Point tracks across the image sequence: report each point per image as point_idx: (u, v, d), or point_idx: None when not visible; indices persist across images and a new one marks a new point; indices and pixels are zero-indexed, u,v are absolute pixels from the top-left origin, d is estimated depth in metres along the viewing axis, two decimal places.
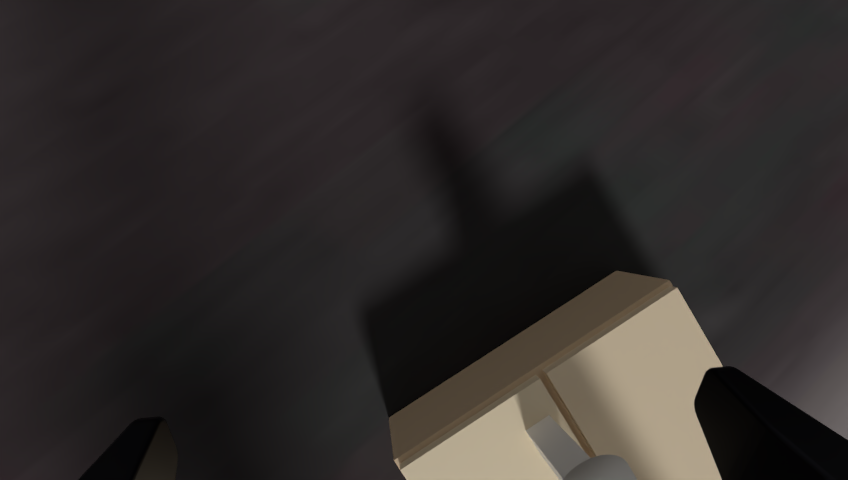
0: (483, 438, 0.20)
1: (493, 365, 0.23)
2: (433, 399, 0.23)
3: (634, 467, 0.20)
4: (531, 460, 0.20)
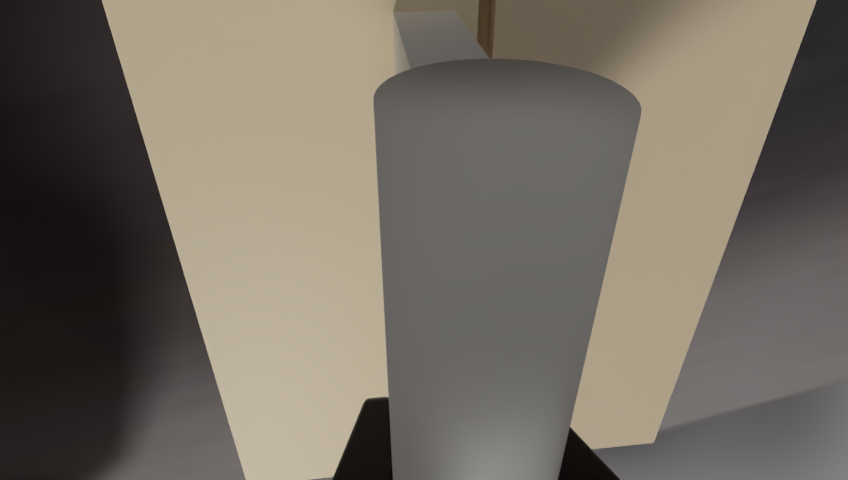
0: None
1: None
2: None
3: None
4: (373, 75, 0.10)
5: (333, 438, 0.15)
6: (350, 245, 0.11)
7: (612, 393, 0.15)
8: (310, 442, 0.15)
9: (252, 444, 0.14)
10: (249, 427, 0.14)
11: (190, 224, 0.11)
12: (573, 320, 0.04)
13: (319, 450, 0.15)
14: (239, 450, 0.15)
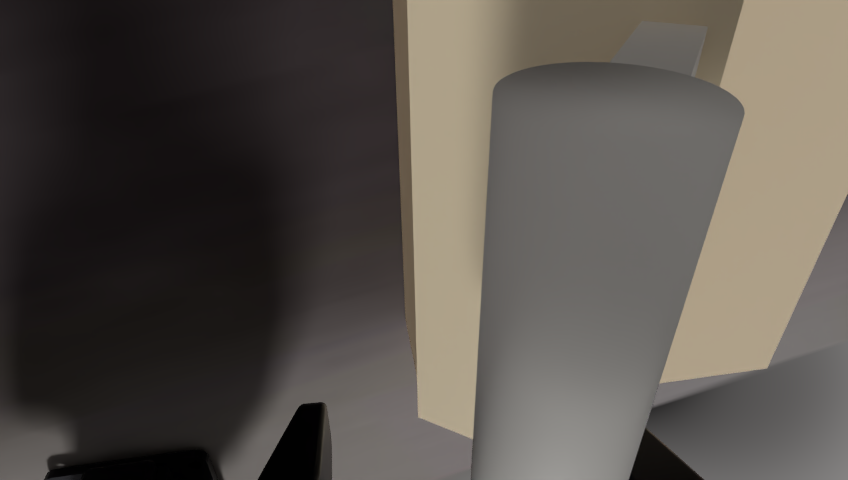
0: None
1: None
2: None
3: None
4: None
5: None
6: None
7: (741, 321, 0.18)
8: None
9: (430, 382, 0.17)
10: (430, 367, 0.16)
11: (426, 177, 0.13)
12: (619, 315, 0.05)
13: None
14: (419, 383, 0.17)
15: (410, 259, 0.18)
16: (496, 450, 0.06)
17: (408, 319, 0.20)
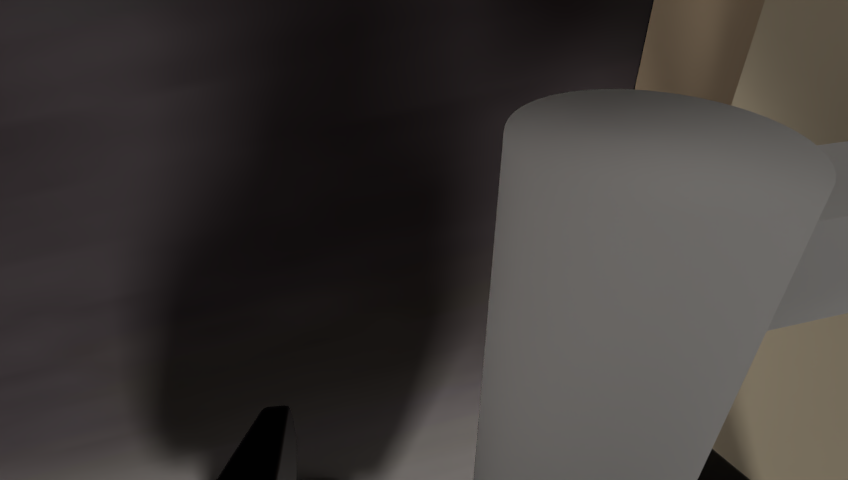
0: None
1: None
2: None
3: None
4: None
5: None
6: (825, 358, 0.09)
7: None
8: None
9: None
10: None
11: None
12: (540, 386, 0.04)
13: None
14: None
15: None
16: (474, 470, 0.06)
17: None
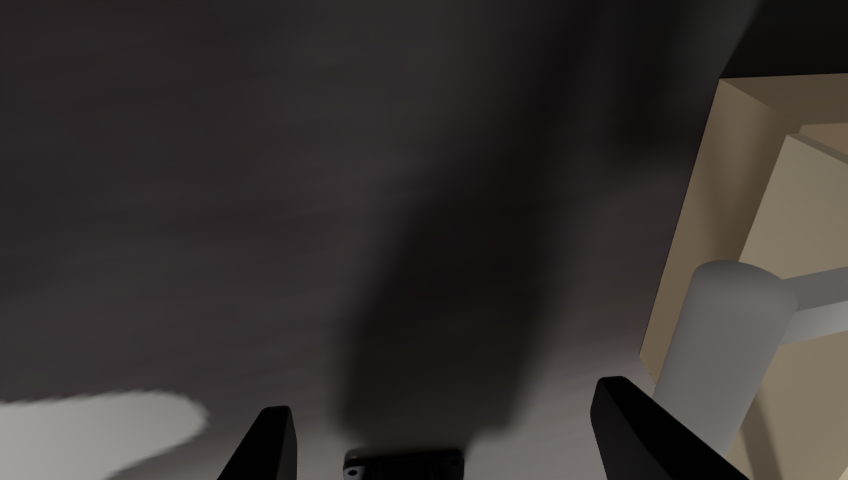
0: None
1: None
2: (795, 86, 0.19)
3: None
4: None
5: (726, 456, 0.21)
6: (806, 356, 0.17)
7: None
8: None
9: None
10: None
11: None
12: (703, 365, 0.12)
13: None
14: None
15: None
16: None
17: (652, 358, 0.27)
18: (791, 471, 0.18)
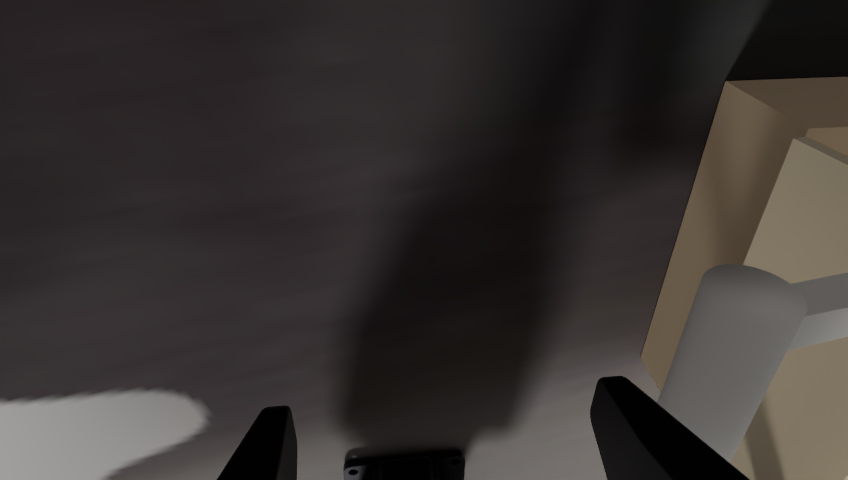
0: None
1: None
2: (801, 89, 0.19)
3: None
4: None
5: None
6: (811, 359, 0.17)
7: None
8: None
9: None
10: None
11: None
12: (711, 369, 0.12)
13: None
14: None
15: (685, 321, 0.24)
16: None
17: (653, 360, 0.27)
18: (794, 474, 0.18)
